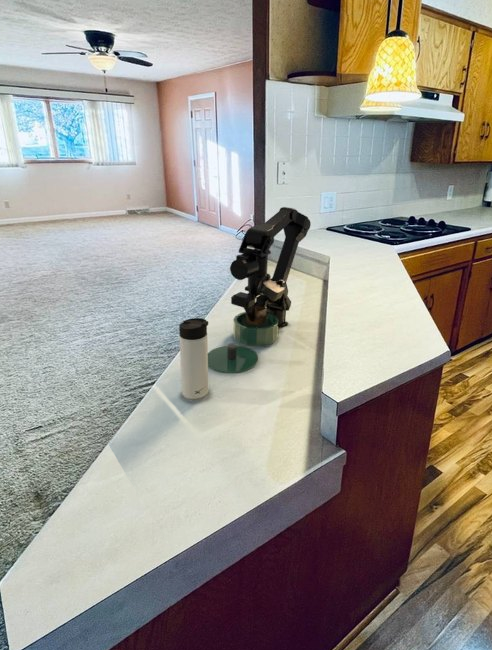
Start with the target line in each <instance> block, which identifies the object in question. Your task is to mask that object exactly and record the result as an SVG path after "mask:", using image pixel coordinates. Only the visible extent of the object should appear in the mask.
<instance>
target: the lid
mask: <svg viewBox="0 0 492 650" xmlns="http://www.w3.org/2000/svg"><path fill="white" fill-rule="evenodd" d="M258 362H259V355H258V354H257V352H255V351H254V350H253V349H252V348H250V347H247V346H244V345H243V346H242V345H237V344H236V343H235V342H230V343H228V344H227V345H223V346H218V347H215V348H213V349H211V350H209V351H208V368H210V369H211V370H213V371H214V372H215V371H216V372H218V373H224V374H238V373H243V372H247V371H249V370H251V369H253V368H254V367H255V366H256V365H257V364H258Z"/></svg>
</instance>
